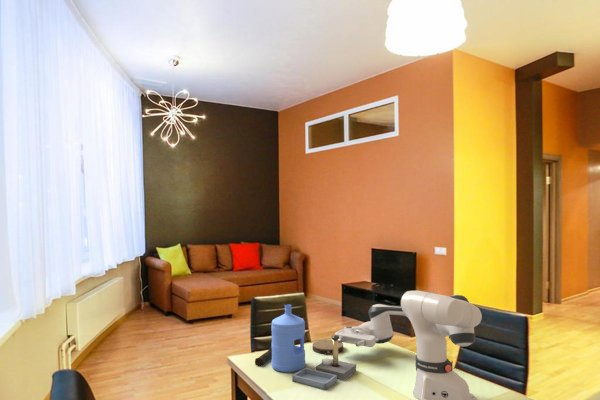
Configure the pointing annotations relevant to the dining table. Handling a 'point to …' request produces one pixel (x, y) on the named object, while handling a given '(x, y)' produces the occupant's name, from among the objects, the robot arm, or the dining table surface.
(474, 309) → the robot arm
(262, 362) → the hand tool
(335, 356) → the lock pin
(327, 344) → the brown round disc
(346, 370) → the block
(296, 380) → the tray
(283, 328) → the water jug
